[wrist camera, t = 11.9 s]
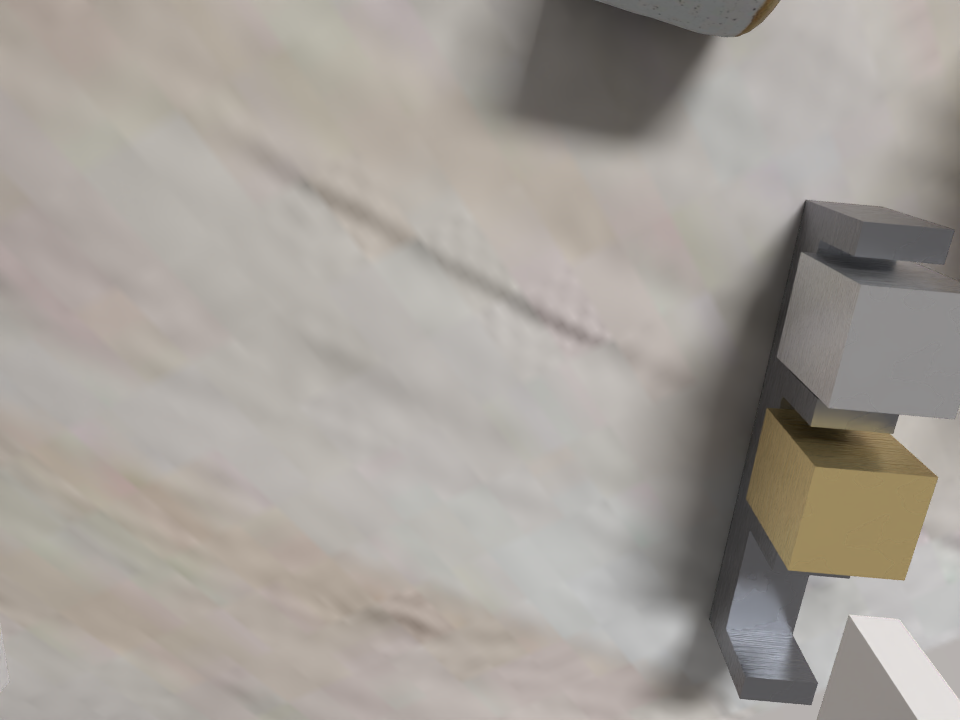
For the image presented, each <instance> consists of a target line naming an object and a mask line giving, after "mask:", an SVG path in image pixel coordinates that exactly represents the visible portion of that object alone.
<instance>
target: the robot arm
mask: <svg viewBox="0 0 960 720" xmlns="http://www.w3.org/2000/svg"><path fill="white" fill-rule="evenodd" d="M8 683H9V674H8V668H7V662H6V656H5V650H4V644H3V637H2V631H1V625H0V692H1V691H2V690H3V689H4V687H5V686H6V685H7V684H8ZM817 720H960V700H959V699H958V697H957V696H956V695H955V693H954V692H953V691H952V689H951V688H950V687H949V685H948V684H947V683H946V681H945V680H944V679H943V678H942V676H941V675H940V673H939V672H938V671H937V669H936V668H935V667H934V665H933V664H932V663H931V662H930V660H929V658H928V657H927V656H926V654H925V653H924V652H923V650H922V649H921V648H920V646H919V645H918V644H917V642H916V641H915V640H914V638H913V637H912V636H911V634H910V633H909V632H908V630H907V629H906V628H905V626H904V625H903V624H902V622H901V621H900V619H892V618H881V617H870V616H858V615H849V616H848V620H847V623H846V626H845V629H844V633H843V636H842V639H841V642H840V646H839V649H838V652H837V655H836V659H835V662H834V665H833V668H832V672H831V675H830V678H829V681H828V685H827V688H826V691H825V694H824V698H823V701H822V704H821V707H820V711H819V714H818V717H817Z"/></svg>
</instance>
